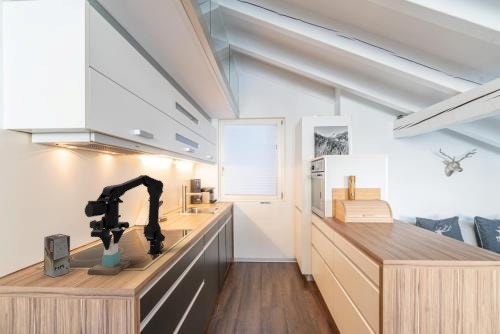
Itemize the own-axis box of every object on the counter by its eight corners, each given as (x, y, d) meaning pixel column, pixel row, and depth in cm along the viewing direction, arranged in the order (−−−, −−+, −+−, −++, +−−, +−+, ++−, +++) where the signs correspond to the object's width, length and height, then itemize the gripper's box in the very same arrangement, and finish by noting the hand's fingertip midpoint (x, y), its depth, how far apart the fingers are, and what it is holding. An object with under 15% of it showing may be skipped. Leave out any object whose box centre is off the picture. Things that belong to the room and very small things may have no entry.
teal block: (109, 262, 111) (109, 251, 111) (120, 262, 110) (120, 251, 111) (102, 266, 106) (102, 255, 106) (112, 266, 106) (113, 255, 106)
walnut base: (108, 263, 115) (108, 259, 115) (131, 263, 114) (131, 259, 114) (87, 274, 102) (87, 269, 102) (114, 275, 101) (114, 270, 101)
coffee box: (70, 272, 105) (71, 235, 105) (53, 277, 99) (53, 239, 100) (59, 268, 109) (60, 233, 109) (42, 273, 103) (43, 236, 104)
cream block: (110, 251, 111) (110, 243, 111) (118, 252, 110) (118, 243, 110) (103, 254, 107) (103, 245, 107) (112, 255, 106) (112, 245, 106)
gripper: (108, 210, 119) (108, 241, 118) (78, 217, 100) (78, 254, 100) (130, 210, 118) (129, 242, 117) (103, 217, 99) (103, 254, 99)
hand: (111, 247), depth 108 cm, fingers open, 5 cm apart
